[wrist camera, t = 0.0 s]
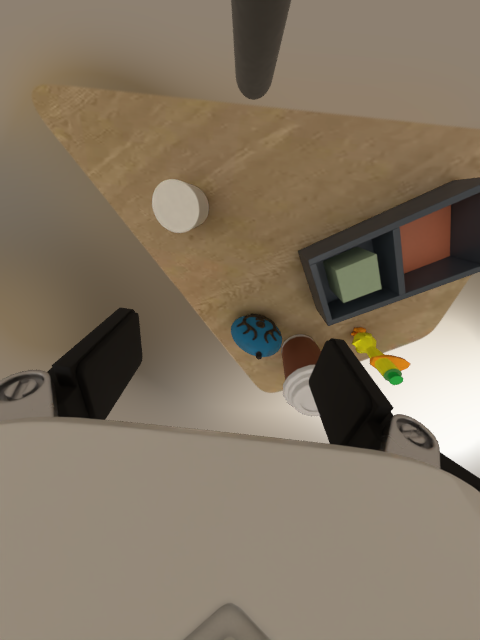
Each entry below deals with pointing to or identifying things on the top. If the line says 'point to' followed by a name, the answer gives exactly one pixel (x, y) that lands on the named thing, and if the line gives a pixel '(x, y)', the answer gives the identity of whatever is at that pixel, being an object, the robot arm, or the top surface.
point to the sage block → (353, 274)
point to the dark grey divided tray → (404, 249)
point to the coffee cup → (299, 372)
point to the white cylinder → (179, 205)
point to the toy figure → (379, 357)
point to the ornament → (256, 335)
